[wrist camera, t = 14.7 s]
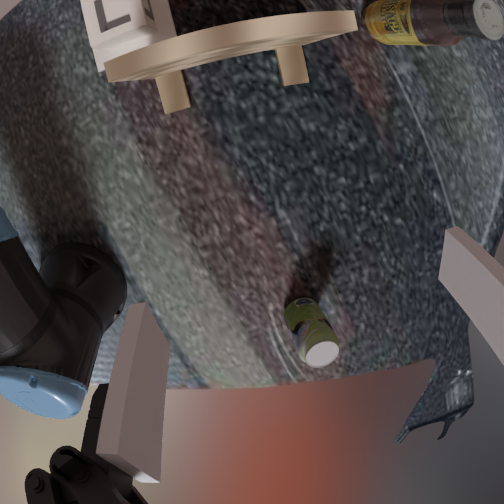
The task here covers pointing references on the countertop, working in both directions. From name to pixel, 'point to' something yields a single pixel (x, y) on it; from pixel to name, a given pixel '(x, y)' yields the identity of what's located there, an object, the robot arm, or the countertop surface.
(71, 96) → the countertop surface
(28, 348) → the robot arm
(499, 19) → the sauce bottle
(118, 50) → the tile
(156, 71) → the screen
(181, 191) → the countertop surface
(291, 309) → the beverage can
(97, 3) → the letter cube
